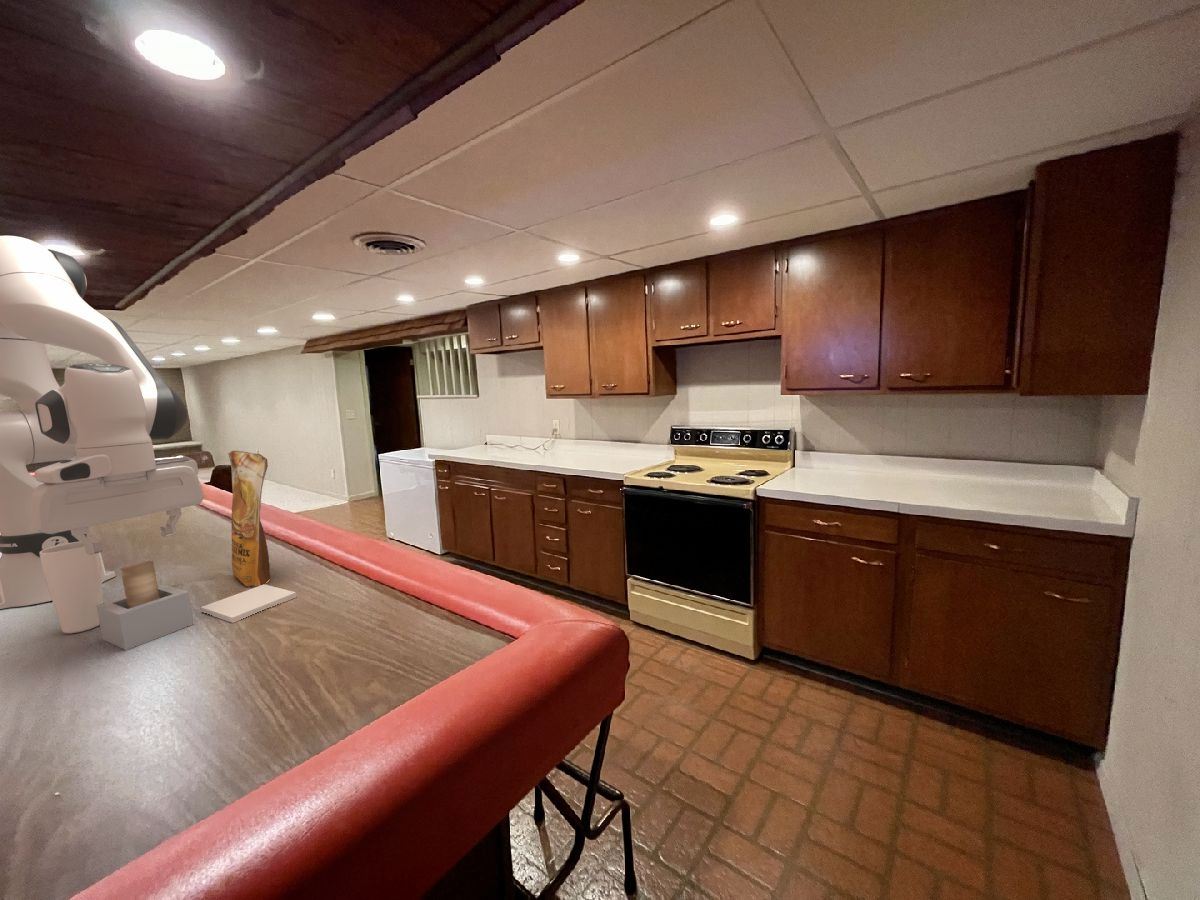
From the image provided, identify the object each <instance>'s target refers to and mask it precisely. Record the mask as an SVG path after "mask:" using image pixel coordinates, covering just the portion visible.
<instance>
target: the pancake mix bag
mask: <svg viewBox="0 0 1200 900" xmlns="http://www.w3.org/2000/svg"><path fill="white" fill-rule="evenodd" d="M227 454H228V457H229V461H230V468H231V469H230V470H231V471H230V472H231V485H232V487H231V488H232V499H231V500H232V504H231V505H232V506H231V567H232V573H233V575H234V577H235V578H236V579H237V578H238V579H239V580H240V581H239V580H238V579H237V580H238V581H239V582H241V583H242V585H243V584H244V587H246V586H247V587H246V588H251V587H250V586H253V587H258V586H261V585H263V584H265V583H266V582H267V581H268V580H269V579H270V580H271V568H270V555H269V549H268V546H267V540H266V536H265V531H264V527H263V524H262V522H261V515H260V512H261V505H262V495H263V494H262V491H263V485H264V481H265V477H266V474H267V470H268V466H269V464H268V462H269V461H268V459H267V458H266V457H265V456H263V455H262V454H260V453H255V452H253V453H252V452H249V451H244V450H243V451H242V450H231V451H230V452H229V453H227ZM266 584H267V583H266ZM266 584H265V585H266ZM255 585H257V586H255Z"/></svg>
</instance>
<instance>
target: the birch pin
mask: <svg viewBox="0 0 1200 900" xmlns="http://www.w3.org/2000/svg"><path fill="white" fill-rule="evenodd" d="M120 573H121V579H122V584H123V590H124V594H125V596H126V601H127V606H128V609H129V608H133V607H136V606H139V605H142V604H145V603H148V602H151V601H154V600H157V599H160V596H159V591H158V581H157V574H156V570H155V563H154V560H143V561H137V562H133V563H130V564H126V565H124V566H122V567H120Z"/></svg>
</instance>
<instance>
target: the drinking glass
mask: <svg viewBox="0 0 1200 900" xmlns="http://www.w3.org/2000/svg"><path fill="white" fill-rule="evenodd" d="M39 554H40V562H41V567H42V572H43V576H44V579H45V582H46V584H47V587H48V590H49V593H50V596H51V598H52V603H53V607H54V609H55V612H56V615H57V618H58V622H59V625H60V630H61V632H62V633H64V634H77V633H82V632H86V631H89V630H91V629H94V628H97V627H98V626H99V627H100V623H99V618H98V613H97V608H96V605H99V604H102V603H104V594H103V583H102V577H101V564H100V557H99V553H96V554H92V555H88V554H87V553H86V550H85V545H84V544H83V543H82V542H80V541H79V542H72V543H67V544H62V545H57V546H53V547H50V548H47V549H44V550H42V551H40V552H39Z"/></svg>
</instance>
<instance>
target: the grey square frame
mask: <svg viewBox="0 0 1200 900" xmlns="http://www.w3.org/2000/svg"><path fill="white" fill-rule="evenodd" d="M158 591H159V596H160V599H157V600H154V601H151V602H148V603H145V604H142V605H139V606H136V607H133V608H129V609H128V606H127V601H126V595H125V596H122V597H119V598H115V599H113V600H110V601H109V600H108V601H106V602H103V603H102V604H99V605H96V608H97V613H98V618H99V623H100V625H99V627H100V633H101V637H102V640H103V639H104V641H105V640H106V642H108V643H110V644H112V645H114V646H116V647H118V648H120V649H122V650H124V651H127V650H130V649H133V648H136V647H138V646H141V645H143V644H146V643H148V642H151V641H154V640H156V639H159V638H161V637H164V636H167V635H169V634H172V633H175V632H177V631H180V630H182V629H185V628H187V626H188V627H190V626H193V625H194V624H195V623H194V622H195V621H194V616H193V611H192V610H193V609H192V605H191V598H190V591H187V590H184V589H181V588H177V587H173V586H172V585H171V586H170V585H167V584H161V585H159V586H158ZM192 624H193V625H192ZM135 646H136V647H135Z"/></svg>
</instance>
